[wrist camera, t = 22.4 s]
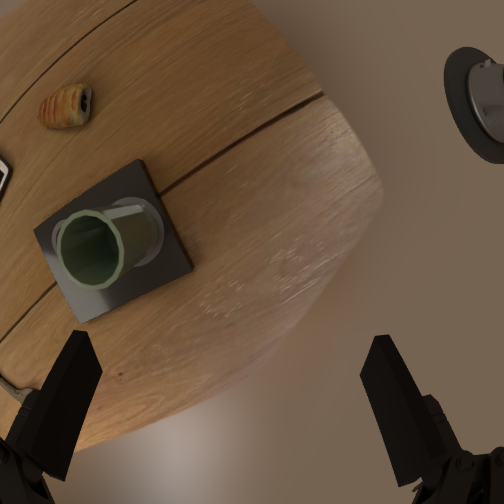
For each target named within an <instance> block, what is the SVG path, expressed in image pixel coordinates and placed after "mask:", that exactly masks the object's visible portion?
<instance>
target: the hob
mask: <svg viewBox="0 0 504 504" xmlns="http://www.w3.org/2000/svg"><path fill="white" fill-rule="evenodd" d="M125 203H132V204H138V205H140V206H142V207H144V208H146V209H147V210H148V211H149V212H150V213H151V214H152V216H153V217H154V219H155V221H156V224H157V229H158V237H157V242H156V245H155V247H154V249H153V250H152V252H151V253H150V254H149V255H148V256H146V257H145V258H144V259H143V260H141V261H140V262H139V263H137V264H136V265H135V266H134V267H132V268H131V269H130V270H129V271H127V272H126V273H125V274H123V275H122V276H121V277H120V278H118V279H117V280H116V281H115V282H113V283H112V284H111V285H110V286H108V287H107V288H104V289H99V290H95V291H93V290H89V289H85V288H81V287H79V286H78V285H77V284H75V283H74V282H73V281H71V280H70V279H69V278H68V276H67V275H66V273H65V272H64V270H63V269H62V267H61V265H60V261H59V258H58V254H57V238H58V235H59V232H60V229H61V227H62V224H63V223H64V222H65V221H66V220H67V219H68V218H69V217H70V216H71V215H72V214H74V213H76V212H79V211H82V210H85V209H92V208H98V207H104V206H111V205H118V204H125ZM33 231H34V233H35V236H36V238H37V241H38V243H39V245H40V247H41V250H42V252H43V254H44V256H45V258H46V261H47V263H48V265H49V267H50V269H51V271H52V273H53V275H54V277H55V279H56V281H57V283H58V285H59V287H60V289H61V291H62V293H63V295H64V296H65V298H66V300H67V302H68V304H69V305H70V307H71V309H72V311H73V312H74V314H75V316H76V318H77V319H78V321H79V323H80V324H83V323H85V322H87V321H89V320H92V319H94V318H96V317H98V316H100V315H102V314H104V313H106V312H108V311H110V310H112V309H114V308H116V307H119V306H121V305H123V304H125V303H127V302H129V301H131V300H133V299H135V298H137V297H139V296H141V295H144V294H146V293H148V292H150V291H152V290H154V289H156V288H158V287H160V286H162V285H164V284H167V283H169V282H171V281H173V280H175V279H177V278H179V277H181V276H183V275H186V274H188V273H190V272H192V271H193V269H194V265H193V263H192V261H191V259H190V257H189V255H188V253H187V252H186V250H185V248H184V246H183V244H182V242H181V240H180V238H179V236H178V234H177V232H176V230H175V228H174V226H173V224H172V221H171V219H170V217H169V215H168V213H167V211H166V209H165V207H164V205H163V203H162V201H161V199H160V197H159V194H158V192H157V190H156V188H155V186H154V184H153V182H152V179H151V177H150V175H149V173H148V171H147V168H146V166H145V164H144V162H143V160H141V159H137V160H135V161H133V162H132V163H130V164H128V165H126V166H125V167H123V168H122V169H120V170H118V171H117V172H115V173H113V174H112V175H110V176H109V177H107V178H105V179H104V180H102V181H101V182H99V183H98V184H96V185H95V186H93V187H92V188H90V189H89V190H87V191H86V192H84V193H83V194H81V195H80V196H78V197H77V198H75V199H74V200H72V201H71V202H70V203H68V204H67V205H65V206H64V207H63V208H61V209H60V210H59V211H57V212H56V213H55V214H53V215H52V216H50V217H49V218H48V219H47V220H45V221H44V222H43V223H41V224H40V225H39V226H38V227H36V228H35V229H34V230H33Z"/></svg>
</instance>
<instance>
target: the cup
mask: <svg viewBox="0 0 504 504" xmlns="http://www.w3.org/2000/svg"><path fill="white" fill-rule="evenodd" d="M157 237H158V229H157V224H156V221H155V219H154V217H153V216H152V214H151V213H150V212H149V211H148V210H147V209H146V208H144V207H142V206H140V205H138V204H132V203H125V204H118V205H111V206H104V207H98V208H92V209H85V210H82V211H79V212H76V213H74V214H72V215H71V216H70V217H69V218H68V219H67V220H66V221H65V222H64V223H63V224H62V227H61V229H60V232H59V235H58V238H57V254H58V258H59V261H60V265H61V267H62V269H63V270H64V272H65V273H66V275H67V276H68V278H69V279H70V280H71V281H73V282H74V283H75V284H77V285H78V286H79V287H81V288H85V289H89V290H93V291H95V290H99V289H104V288H107V287H108V286H110V285H111V284H112V283H113V282H115V281H116V280H117V279H118V278H120V277H121V276H122V275H123V274H125V273H126V272H127V271H129V270H130V269H131V268H132V267H134V266H135V265H136V264H137V263H139V262H140V261H141V260H143V259H144V258H145V257H146V256H148V255H149V254H150V253H151V252H152V250H153V249H154V247H155V245H156V242H157Z"/></svg>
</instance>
